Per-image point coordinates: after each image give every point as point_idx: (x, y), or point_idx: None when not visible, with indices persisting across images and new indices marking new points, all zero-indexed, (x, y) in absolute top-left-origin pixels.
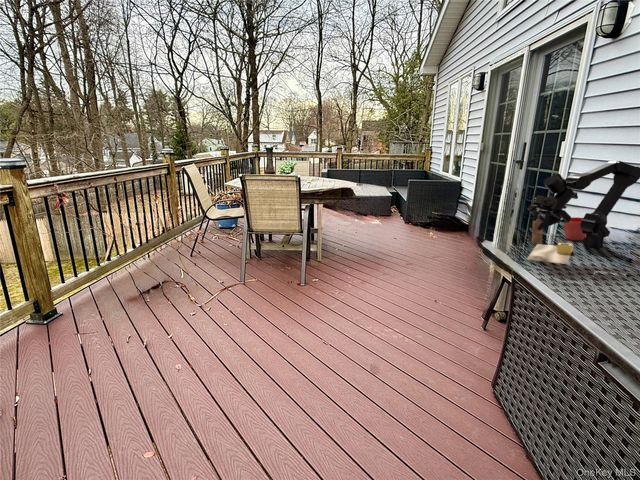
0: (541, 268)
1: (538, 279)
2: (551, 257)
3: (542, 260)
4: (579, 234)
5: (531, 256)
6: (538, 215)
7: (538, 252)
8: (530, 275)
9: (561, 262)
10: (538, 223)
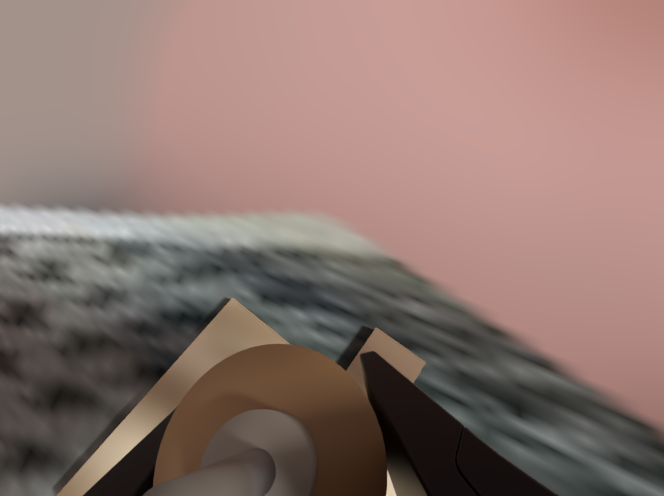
0: (110, 321)
1: (7, 236)
2: None
3: (179, 379)
4: None
5: None
6: (177, 484)
7: None
8: (60, 228)
9: (93, 483)
10: (186, 408)
